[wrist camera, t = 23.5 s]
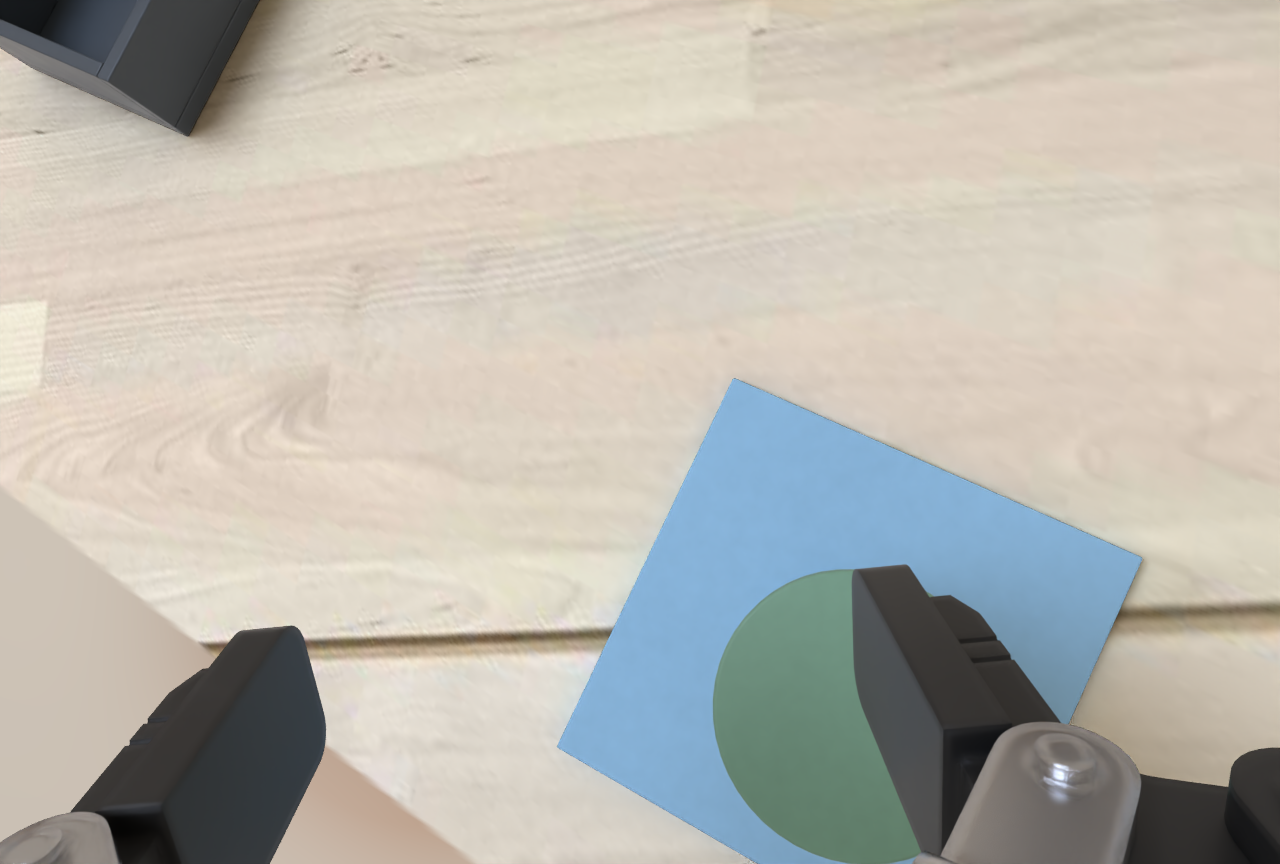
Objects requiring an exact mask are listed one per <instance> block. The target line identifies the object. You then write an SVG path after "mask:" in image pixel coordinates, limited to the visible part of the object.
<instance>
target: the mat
mask: <svg viewBox="0 0 1280 864" xmlns="http://www.w3.org/2000/svg"><path fill="white" fill-rule="evenodd" d="M1141 561H1142V557H1140V556H1138V555H1135V554H1133V553H1131V552H1129V551H1126V550H1124V549H1122V548H1119V547H1117V546H1115V545H1113V544H1110V543H1108V542H1106V541H1104V540H1101V539H1099V538H1097V537H1094V536H1092V535H1090V534H1088V533H1085V532H1083V531H1081V530H1079V529H1076V528H1074V527H1072V526H1069V525H1067V524H1065V523H1063V522H1060V521H1058V520H1056V519H1054V518H1051V517H1049V516H1047V515H1044V514H1042V513H1040V512H1038V511H1035V510H1033V509H1031V508H1029V507H1026V506H1024V505H1022V504H1019V503H1017V502H1015V501H1013V500H1010V499H1008V498H1006V497H1004V496H1001V495H999V494H997V493H994V492H992V491H990V490H988V489H985V488H983V487H981V486H979V485H976V484H974V483H972V482H969V481H967V480H965V479H963V478H960V477H958V476H956V475H954V474H951V473H949V472H947V471H944V470H942V469H940V468H938V467H935V466H933V465H931V464H929V463H926V462H924V461H922V460H919V459H917V458H915V457H913V456H910V455H908V454H906V453H904V452H901V451H899V450H897V449H894V448H892V447H890V446H888V445H885V444H883V443H881V442H879V441H876V440H874V439H872V438H869V437H867V436H865V435H863V434H860V433H858V432H856V431H854V430H851V429H849V428H847V427H844V426H842V425H840V424H838V423H835V422H833V421H831V420H829V419H826V418H824V417H822V416H819V415H817V414H815V413H813V412H810V411H808V410H806V409H804V408H801V407H799V406H797V405H794V404H792V403H790V402H788V401H785V400H783V399H781V398H779V397H776V396H774V395H772V394H769V393H767V392H765V391H763V390H760V389H758V388H756V387H754V386H751V385H749V384H747V383H744V382H742V381H740V380H738V379H735V378H734V379H733V380H732V382H731V384H730V386H729V388H728V390H727V392H726V395H725V397H724V399H723V401H722V403H721V405H720V407H719V409H718V411H717V413H716V415H715V418H714V420H713V422H712V424H711V426H710V428H709V430H708V432H707V434H706V436H705V438H704V441H703V443H702V445H701V447H700V449H699V451H698V453H697V455H696V457H695V459H694V461H693V463H692V466H691V468H690V470H689V472H688V474H687V476H686V478H685V480H684V482H683V484H682V486H681V489H680V491H679V493H678V495H677V497H676V499H675V501H674V503H673V505H672V507H671V509H670V512H669V514H668V516H667V518H666V520H665V522H664V524H663V526H662V528H661V530H660V532H659V534H658V537H657V539H656V541H655V543H654V545H653V547H652V549H651V551H650V553H649V555H648V557H647V560H646V562H645V564H644V566H643V568H642V570H641V572H640V574H639V576H638V578H637V580H636V583H635V585H634V587H633V589H632V591H631V593H630V595H629V597H628V599H627V601H626V603H625V605H624V608H623V610H622V612H621V614H620V616H619V618H618V620H617V622H616V624H615V626H614V628H613V631H612V633H611V635H610V637H609V639H608V641H607V643H606V645H605V647H604V649H603V651H602V654H601V656H600V658H599V660H598V662H597V664H596V666H595V668H594V670H593V672H592V674H591V676H590V679H589V681H588V683H587V685H586V687H585V689H584V691H583V693H582V695H581V697H580V699H579V702H578V704H577V706H576V708H575V710H574V712H573V714H572V716H571V718H570V720H569V722H568V725H567V727H566V729H565V731H564V733H563V735H562V737H561V739H560V741H559V743H558V745H557V747H558V748H559V749H561V750H562V751H564V752H566V753H568V754H569V755H571V756H573V757H575V758H576V759H578V760H580V761H581V762H583V763H585V764H587V765H588V766H590V767H592V768H594V769H595V770H597V771H599V772H600V773H602V774H604V775H606V776H607V777H609V778H611V779H612V780H614V781H616V782H618V783H619V784H621V785H623V786H625V787H626V788H628V789H630V790H631V791H633V792H635V793H637V794H638V795H640V796H642V797H644V798H645V799H647V800H649V801H650V802H652V803H654V804H656V805H657V806H659V807H661V808H662V809H664V810H666V811H668V812H669V813H671V814H673V815H675V816H676V817H678V818H680V819H681V820H683V821H685V822H687V823H688V824H690V825H692V826H694V827H695V828H697V829H699V830H700V831H702V832H704V833H706V834H707V835H709V836H711V837H712V838H714V839H716V840H718V841H719V842H721V843H723V844H725V845H726V846H728V847H730V848H731V849H733V850H735V851H737V852H738V853H740V854H742V855H743V856H745V857H747V858H749V859H750V860H752V861H754V862H756V863H757V864H848V863H843V862H838V861H833V860H829V859H826V858H823V857H820V856H817V855H814V854H812V853H810V852H808V851H805V850H803V849H801V848H799V847H797V846H795V845H793V844H792V843H790V842H789V841H787V840H786V839H784V838H783V837H781V836H780V835H778V834H777V833H775V832H774V831H773V830H772V829H771V828H770V827H768V826H767V825H766V824H765V823H764V822H762V821H761V819H760V818H759V817H758V816H757V815H756V814H755V813H754V812H753V811H752V810H751V809H750V808H749V806H748V805H747V804H746V802H745V801H744V800H743V798H742V797H741V795H740V794H739V793H738V791H737V790H736V788H735V786H734V784H733V782H732V781H731V779H730V777H729V775H728V773H727V771H726V768H725V766H724V763H723V761H722V758H721V756H720V752H719V748H718V745H717V741H716V737H715V730H714V723H713V693H714V684H715V678H716V674H717V670H718V666H719V663H720V660H721V658H722V655H723V653H724V650H725V648H726V646H727V644H728V642H729V640H730V638H731V636H732V635H733V633H734V631H735V630H736V628H737V627H738V626H739V624H740V623H741V622H742V620H743V619H744V618H745V616H746V615H747V614H748V613H749V612H750V611H751V610H752V609H753V608H754V607H755V606H756V605H757V604H758V603H759V602H760V601H761V600H763V599H764V598H765V597H766V596H768V595H769V594H770V593H772V592H773V591H774V590H776V589H778V588H780V587H781V586H783V585H785V584H786V583H788V582H791V581H793V580H795V579H798V578H800V577H803V576H806V575H809V574H813V573H817V572H821V571H829V570H836V569H862V568H872V567H882V566H892V565H902V564H906V565H908V566H909V567H910V568H911V570H912V571H913V573H914V574H915V576H916V577H917V579H918V580H919V582H920V583H921V585H922V586H923V588H924V589H925V591H926V592H928V593H930V594H932V595H933V596H944V595H951V596H953V597H955V598H956V599H958V600H959V601H961V602H963V603H964V604H966V605H968V606H969V607H971V608H972V609H974V610H976V611H977V612H979V613H980V614H981V615H982V617H983V618H984V619H985V621H986V622H987V623H988V625H989V626H990V627H991V629H992V630H993V632H994V633H995V634H996V636H997V640H1000V641H1001V642H1002V644H1003V645H1004V646H1005V648H1006V649H1007V650H1008V652H1009V653H1010V654H1011V659H1012V660H1015V661H1016V663H1017V664H1018V665H1019V667H1020V668H1021V669H1022V671H1023V672H1024V673H1025V675H1026V676H1027V677H1028V679H1029V680H1030V681H1031V683H1032V684H1033V685H1034V687H1035V688H1036V689H1037V691H1038V692H1039V694H1040V695H1041V696H1042V698H1043V699H1044V700H1045V702H1046V703H1047V704H1048V706H1049V707H1050V708H1051V710H1052V711H1053V712H1054V714H1055V715H1056V716H1057V718H1058V719H1059V720H1060V722H1061V723H1063V724H1069V722H1070V720H1071V718H1072V715H1073V713H1074V711H1075V709H1076V706H1077V704H1078V702H1079V700H1080V697H1081V695H1082V693H1083V691H1084V688H1085V686H1086V684H1087V682H1088V680H1089V677H1090V675H1091V673H1092V671H1093V668H1094V666H1095V664H1096V662H1097V659H1098V657H1099V655H1100V653H1101V651H1102V648H1103V646H1104V644H1105V642H1106V639H1107V637H1108V635H1109V633H1110V630H1111V628H1112V626H1113V624H1114V621H1115V619H1116V617H1117V615H1118V613H1119V610H1120V608H1121V606H1122V604H1123V601H1124V599H1125V597H1126V595H1127V592H1128V590H1129V588H1130V586H1131V584H1132V581H1133V579H1134V577H1135V575H1136V572H1137V570H1138V568H1139V566H1140V563H1141ZM915 858H916V857H914V858H911V859H908V860H904V861H899V862H895V863H890V864H912V863H913V861H914V860H915Z"/></svg>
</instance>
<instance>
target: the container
mask: <svg viewBox="0 0 1280 864" xmlns="http://www.w3.org/2000/svg"><path fill="white" fill-rule="evenodd" d="M854 570H855V569H836V570H829V571H821V572H817V573H813V574H809V575H806V576H803V577H800V578H798V579H795V580H793V581H791V582H788V583H786V584H785V585H783V586H781V587H780V588H778V589H776V590H774V591H773V592H772V593H770V594H769V595H768V596H766V597H765V598H764V599H763V600H761V601H760V602H759V603H758V604H757V605H756V606H755V607H754V608H753V609H752V610H751V611H750V612H749V613H748V614H747V615H746V616H745V618H744V619H743V620H742V622H741V623H740V624H739V626H738V627H737V628H736V630H735V631H734V633H733V635H732V636H731V638H730V640H729V642H728V644H727V646H726V648H725V650H724V653H723V655H722V658H721V660H720V663H719V666H718V670H717V674H716V678H715V684H714V693H713V723H714V730H715V737H716V741H717V745H718V748H719V752H720V756H721V758H722V761H723V763H724V766H725V768H726V771H727V773H728V775H729V777H730V779H731V781H732V782H733V784H734V786H735V788H736V790H737V791H738V793H739V794H740V795H741V797H742V798H743V800H744V801H745V802H746V804H747V805H748V806H749V808H750V809H751V810H752V811H753V812H754V813H755V814H756V815H757V816H758V817H759V818H760V819H761V821H762V822H764V823H765V824H766V825H767V826H768V827H770V828H771V829H772V830H773V831H774V832H775V833H777V834H778V835H780V836H781V837H783V838H784V839H786V840H787V841H789V842H790V843H792V844H793V845H795V846H797V847H799V848H801V849H803V850H805V851H808V852H810V853H812V854H814V855H817V856H820V857H823V858H826V859H829V860H833V861H838V862H843V863H848V864H890V863H895V862H899V861H904V860H908V859H911V858H914V857H917V855H918V854H919V853H920V852H921V850H920V848H919V845H918V843H917V840H916V838H915V835H914V833H913V831H912V828H911V826H910V823H909V821H908V818H907V816H906V814H905V811H904V809H903V806H902V804H901V801H900V799H899V797H898V794H897V792H896V789H895V787H894V784H893V782H892V779H891V777H890V775H889V772H888V770H887V767H886V765H885V762H884V760H883V758H882V755H881V753H880V750H879V748H878V745H877V743H876V741H875V738H874V736H873V733H872V731H871V728H870V726H869V724H868V721H867V719H866V716H865V714H864V711H863V709H862V706H861V703H860V699H859V696H858V691H857V686H856V680H855V673H854V659H853V620H852V574H853V571H854ZM926 593H927V594H928V596H929V597H934V596H933V595H932V594H930V593H928V592H926Z"/></svg>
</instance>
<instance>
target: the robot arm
mask: <svg viewBox="0 0 1280 864" xmlns="http://www.w3.org/2000/svg"><path fill="white" fill-rule="evenodd" d="M852 620H853V659H854V673H855V680H856V686H857V691H858V696H859V699H860V703H861V706H862V709H863V711H864V714H865V716H866V719H867V721H868V724H869V726H870V728H871V731H872V733H873V736H874V738H875V741H876V743H877V745H878V748H879V750H880V753H881V755H882V758H883V760H884V762H885V765H886V767H887V770H888V772H889V775H890V777H891V779H892V782H893V784H894V787H895V789H896V792H897V794H898V797H899V799H900V801H901V804H902V806H903V809H904V811H905V814H906V816H907V818H908V821H909V823H910V826H911V828H912V831H913V833H914V835H915V838H916V840H917V843H918V845H919V848H920V850H921V852H920V853H919V854H918V855H917V857H916V858H915V860H914V861H913V863H912V864H1280V748H1264V749H1258V750H1254V751H1250V752H1248V753H1246V754H1244V755H1242V756H1240V757H1239V758H1238V759H1237V760H1236V761H1235V762H1234V764H1233V766H1232V768H1231V773H1230V780H1229V787H1223V786H1216V785H1208V784H1201V783H1194V782H1186V781H1179V780H1171V779H1164V778H1158V777H1152V776H1147V775H1143V774H1140V773H1139V771H1138V769H1137V767H1136V765H1135V764H1134V762H1133V761H1132V760H1131V758H1130V757H1129V756H1128V755H1127V754H1126V753H1125V752H1124V751H1123V750H1122V749H1121V748H1119V747H1118V746H1117V745H1115V744H1114V743H1112V742H1111V741H1109V740H1107V739H1106V738H1104V737H1102V736H1100V735H1098V734H1096V733H1094V732H1091V731H1089V730H1086V729H1083V728H1080V727H1077V726H1072V725H1068V724H1063V723H1061V722H1060V720H1059V719H1058V718H1057V716H1056V715H1055V714H1054V712H1053V711H1052V710H1051V708H1050V707H1049V706H1048V704H1047V703H1046V702H1045V700H1044V699H1043V698H1042V696H1041V695H1040V694H1039V692H1038V691H1037V689H1036V688H1035V687H1034V685H1033V684H1032V683H1031V681H1030V680H1029V679H1028V677H1027V676H1026V675H1025V673H1024V672H1023V671H1022V669H1021V668H1020V667H1019V665H1018V664H1017V663H1016V661H1015V660H1012V659H1011V654H1010V653H1009V652H1008V650H1007V649H1006V648H1005V646H1004V645H1003V644H1002V642H1001V641H1000V640H997V636H996V634H995V633H994V632H993V630H992V629H991V627H990V626H989V625H988V623H987V622H986V621H985V619H984V618H983V617H982V615H981V614H980V613H979V612H977V611H976V610H974V609H972V608H971V607H969V606H968V605H966V604H964V603H963V602H961V601H959V600H958V599H956V598H955V597H953V596H951V595H944V596H934V597H929V596H928V594H927V593H926V591H925V589H924V588H923V586H922V585H921V583H920V582H919V580H918V579H917V577H916V576H915V574H914V573H913V571H912V570H911V568H910V567H909V566H908V565H906V564H902V565H892V566H882V567H872V568H862V569H855V570H854V571H853V574H852ZM325 740H326V723H325V716H324V712H323V708H322V704H321V701H320V697H319V693H318V689H317V686H316V682H315V678H314V674H313V671H312V667H311V663H310V659H309V656H308V652H307V648H306V645H305V641H304V638H303V636H302V633H301V632H300V630H299V629H298V628H297V627H295V626H283V627H273V628H263V629H252V630H243V631H240V632H238V633H237V634H236V635H235V636H234V637H233V638H232V639H231V641H230V642H229V643H228V644H227V646H226V647H225V648H224V649H223V651H222V652H221V653H220V654H219V656H218V657H217V658H216V659H215V661H214V662H213V663H212V664H211V666H210V667H209V668H207V669H202V670H200V671H199V672H197V673H196V674H195V675H193V676H192V677H191V678H189V679H188V680H186V681H185V682H184V683H182V684H181V685H180V686H178V687H177V688H175V689H174V690H173V691H171V692H170V693H169V694H168V695H167V696H166V697H165V699H164V700H163V701H162V702H161V704H160V705H159V706H158V707H157V708H156V710H155V711H154V712H153V713H152V714H151V715H150V717H149V718H148V723H147V724H143V725H142V726H141V727H140V729H139V730H138V731H137V732H136V734H135V735H134V736H133V737H132V738H131V740H130V745H129V746H125V747H124V748H123V749H122V750H121V752H120V753H119V754H118V755H117V756H116V758H115V759H114V760H113V761H112V762H111V764H110V765H109V766H108V767H107V768H106V770H105V771H104V772H103V773H102V774H101V776H100V777H99V778H98V779H97V781H96V782H95V783H94V784H93V785H92V786H91V788H90V789H89V790H88V791H87V793H86V794H85V795H84V796H83V797H82V799H81V800H80V801H79V802H78V803H77V805H76V806H75V807H74V808H73V809H72V811H71V812H70V813H66V814H61V815H57V816H54V817H51V818H47V819H44V820H42V821H39V822H37V823H35V824H32V825H30V826H28V827H26V828H24V829H22V830H20V831H18V832H16V833H15V834H13V835H11V836H9V837H8V838H6V839H5V840H3V841H2V842H0V864H270V862H271V860H272V858H273V856H274V854H275V852H276V850H277V848H278V846H279V844H280V842H281V840H282V838H283V836H284V834H285V832H286V830H287V828H288V826H289V824H290V822H291V820H292V817H293V816H294V814H295V812H296V810H297V808H298V806H299V804H300V802H301V800H302V798H303V796H304V794H305V792H306V789H307V788H308V786H309V784H310V782H311V779H312V778H313V776H314V773H315V772H316V769H317V767H318V765H319V763H320V761H321V759H322V755H323V752H324V747H325Z"/></svg>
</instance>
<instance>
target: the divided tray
mask: <svg viewBox="0 0 1280 864" xmlns="http://www.w3.org/2000/svg"><path fill="white" fill-rule="evenodd" d="M258 1H259V0H0V48H1V49H3V50H4V51H6V52H7V53H9V54H11V55H12V56H14V57H15V58H18V60H20V61H22V62H23V63H25V64H26V65H28V66H30V67H31V68H33V69H35V70H38V71H40V72H42V73H45V74H47V75H49V76H51V77H54V78H56V79H58V80H60V81H63V82H65V83H67V84H70V85H72V86H74V87H76V88H79V89H81V90H83V91H85V92H88V93H90V94H92V95H95V96H97V97H99V98H101V99H104V100H106V101H108V102H110V103H113V104H115V105H117V106H120V107H122V108H124V109H126V110H129V111H131V112H133V113H136V114H138V115H140V116H142V117H145V118H147V119H149V120H151V121H154V122H156V123H158V124H161V125H163V126H165V127H167V128H170V129H172V130H174V131H176V132H179V133H181V134H183V135H186V136H188V135H189V134H190V132H191V130H192V128H193V126H194V124H195V122H196V120H197V118H198V117H199V115H200V113H201V111H202V109H203V107H204V105H205V103H206V101H207V99H208V97H209V95H210V94H211V92H212V90H213V88H214V86H215V84H216V82H217V80H218V78H219V76H220V74H221V72H222V71H223V69H224V67H225V65H226V63H227V61H228V59H229V57H230V55H231V53H232V51H233V49H234V48H235V46H236V44H237V42H238V40H239V38H240V36H241V34H242V32H243V30H244V28H245V26H246V24H247V23H248V21H249V19H250V17H251V15H252V13H253V11H254V9H255V7H256V5H257V3H258Z"/></svg>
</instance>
